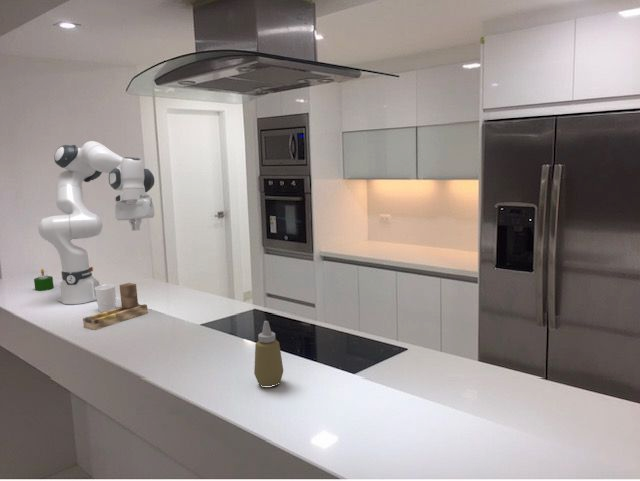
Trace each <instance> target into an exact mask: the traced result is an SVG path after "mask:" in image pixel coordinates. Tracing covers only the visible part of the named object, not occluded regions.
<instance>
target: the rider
mask: <svg viewBox="0 0 640 481" xmlns="http://www.w3.org/2000/svg"><path fill="white" fill-rule="evenodd" d="M137 289H138V288H137V283H132V282H126V283H124V284H119V294H120V302H121V307H124V310H127V309H130V308H133V307H135V306H138V303H139V301H138V300H139V299H138V290H137Z"/></svg>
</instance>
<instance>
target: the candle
mask: <svg viewBox="0 0 640 481" xmlns="http://www.w3.org/2000/svg"><path fill="white" fill-rule="evenodd" d="M40 273H41V274H40V275H38V276H37V277H35V278H33V283H34V289H35V291H37V292H45V291H50V290H54V288H55V286H54V278H53V276H50V275H48V274H45V271H44V268H43V269H41V270H40Z"/></svg>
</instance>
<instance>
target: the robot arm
mask: <svg viewBox="0 0 640 481" xmlns="http://www.w3.org/2000/svg"><path fill="white" fill-rule="evenodd" d="M53 158H54V163H55V164H56V165H57V166H58V167H60V168H63V169H65V170H64V171H62V172H60V173H59V175H58V176H57V181H56V184H55V198H56V207H57V208H58V210H59V211H60V212H62V213H63V214H60V215H51V216H47V217H43V218H42V219H41V220H40V221H39V222H38V227H37V228H38V234H39V235H40V237H41V238H42V239H44V241H47V242H48V243H49V244H51V245H53V247H54V248H55V249H56V250H57V253H58V255H59V259H60V264H61V280H62V281H61V282H60V284H59V288H60V290H59V291H60V292H59V293H60V298H58V299H57V300H58V301H57V302H59V303H62V304H64V305H78V304H79V305H80V304H85V303H90V302H92V301H95V302H96V301H97V299H96V293H95V287H97V286H101V285H100V282H99V281H100V280H98V279H97V278H96V277H95V276H93V273H92V272H93V271H94V267H93V266H90V263H89V254H88V251H87V250H86V249H85V248H83V247H81V246H78V245H76V244H73V243H72V241H71V240H79V239H89V238H94V237H96V236H99V235H100V234H101V233H102V230H103V221H102V219H101V217H100V216H99V215H98V214H96V213H94V212H92V211H90V210H89V209H88V208H87V206H86V205H85V203H84V197H83V195H84V194H83V182H85V183H90V181H94V180H96V179H98V178H99V177H101V175H102V174H108V184H109V185H110V187H111V188H112V189H113V190H115V191H120V193H119V194H117V195H116V196H115V197H114V203H115V206H114V207H115V208H114V211H115V212H114V213H115V215H114V216H115V218H116V220H117V221H128V223H129V225H130V228H131V231H132V232H133V231H140V230H141V229H140V228H141V223H142V219H143V220H144V219H151V218H154V217H155V206H154V202H153V198H152V196H150V194H146V193H147V192H149V191H150V190H151V189H152V188H153V187H154V185H155V176H154V174H153V173H152V171H151V170H150V169H149V168H144V164H143V160H142V159H141V158H139V157H131V156H130V157H129V156H127V157H126V156H125V157H123V156H121V155H119V154H117V153H115V152H114V151H112V150H111V149H109V148H108V147H107V146H106V145H104V144H103V143H100V142H98V141H96V140H95V141H94V140H89V141H87V142H85V143H84V144H83V145H82V146H81V147H78V146H77V145H76V144H71V145H69V144H63V145H61V146H59V147H58V148H57V149H56V151H55V153H54V156H53Z"/></svg>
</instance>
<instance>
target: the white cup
mask: <svg viewBox="0 0 640 481" xmlns="http://www.w3.org/2000/svg"><path fill="white" fill-rule="evenodd" d="M95 293H96V299H97V300H96V304H97V307H98V311H99V313H102V312H106V311H109V310H112V309H116V308H117V307H116V306H117V304H116V301H117V300H116V296H117V294H116V285H115V284H102V285H100V286H97V287H95Z"/></svg>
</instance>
